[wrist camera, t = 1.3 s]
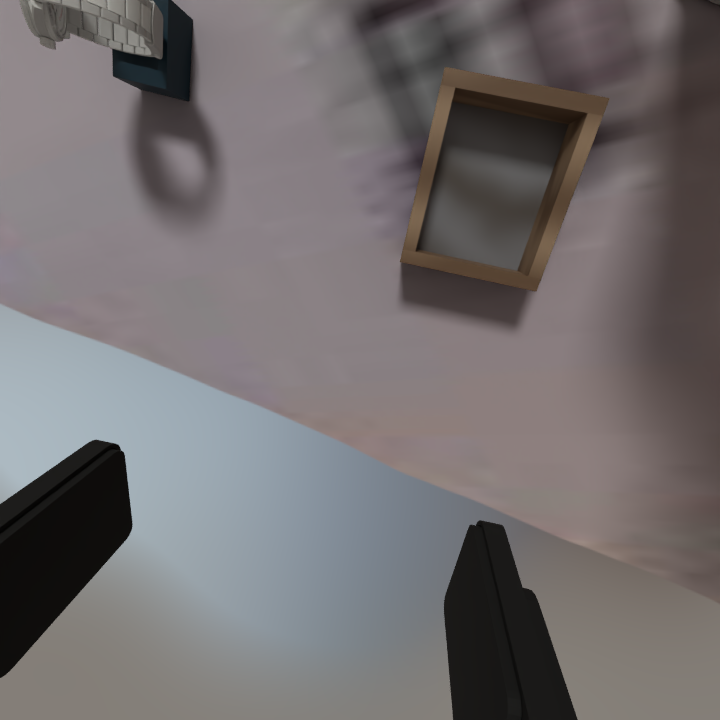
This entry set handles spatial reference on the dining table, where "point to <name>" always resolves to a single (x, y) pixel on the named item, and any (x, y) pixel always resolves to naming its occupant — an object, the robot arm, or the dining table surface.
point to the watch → (124, 37)
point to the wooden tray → (498, 176)
